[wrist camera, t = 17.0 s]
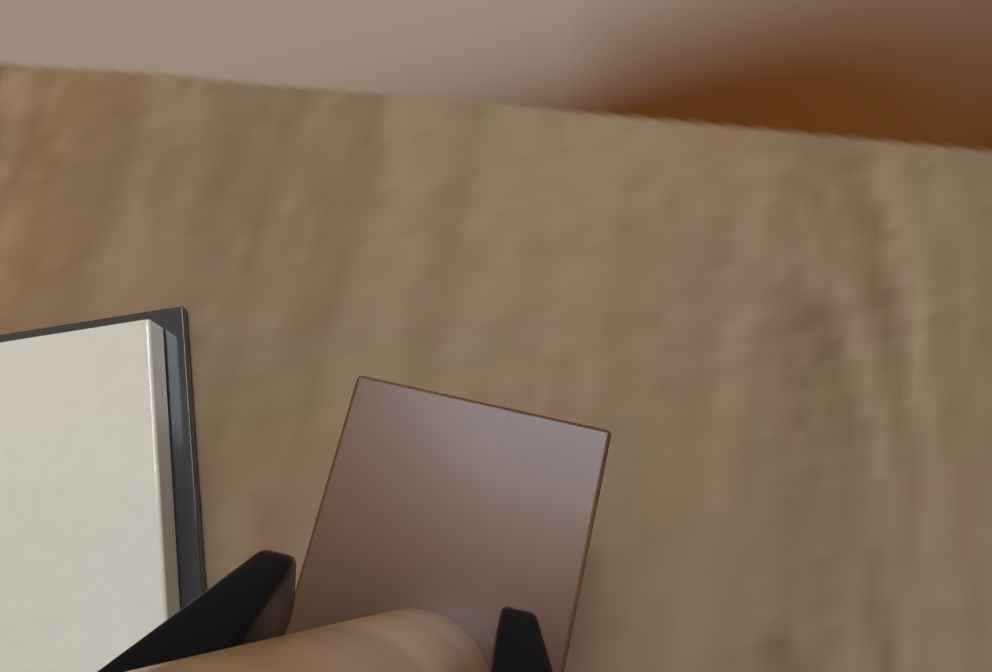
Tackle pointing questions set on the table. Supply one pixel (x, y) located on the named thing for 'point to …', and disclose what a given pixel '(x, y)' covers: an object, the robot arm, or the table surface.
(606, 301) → the table surface
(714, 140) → the table surface
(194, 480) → the white notepad
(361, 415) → the cylinder on rectangular base
